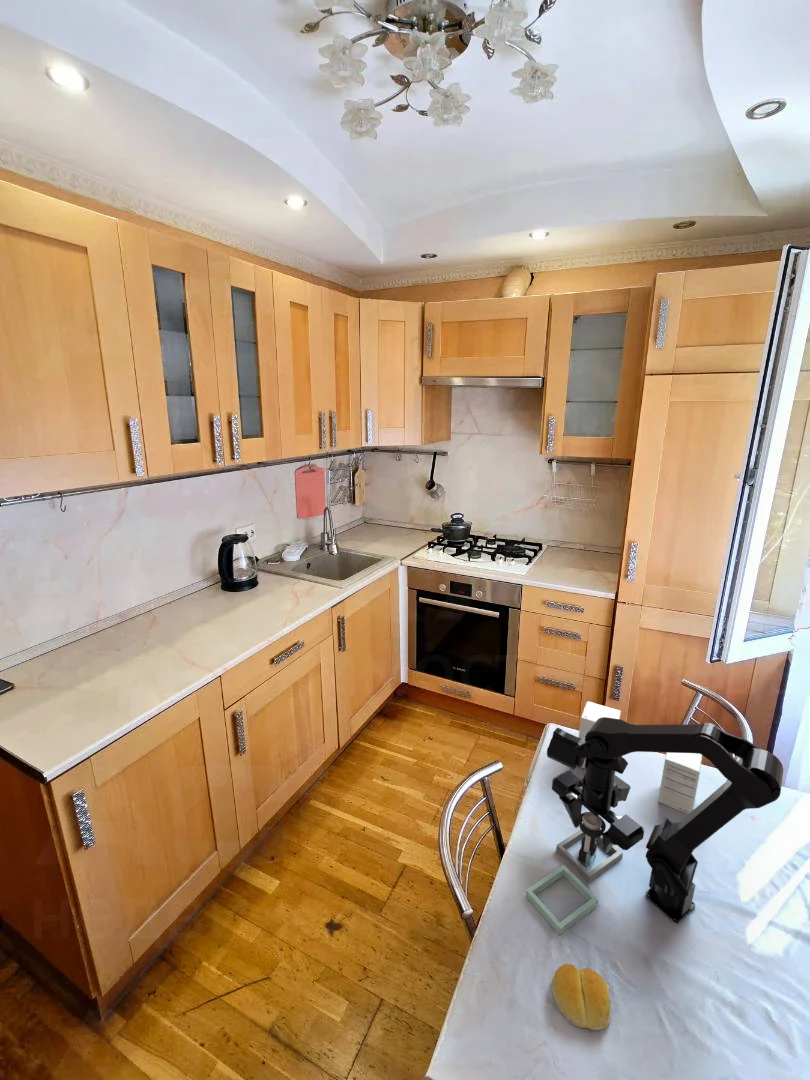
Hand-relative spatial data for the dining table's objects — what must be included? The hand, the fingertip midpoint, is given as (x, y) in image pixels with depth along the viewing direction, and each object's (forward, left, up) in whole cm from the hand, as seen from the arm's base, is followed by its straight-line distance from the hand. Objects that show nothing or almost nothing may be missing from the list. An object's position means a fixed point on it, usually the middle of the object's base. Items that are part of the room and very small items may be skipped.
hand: (590, 839), depth 103 cm
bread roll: (-17, +23, -4) cm, 29 cm away
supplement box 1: (+18, -25, -4) cm, 31 cm away
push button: (0, 0, -4) cm, 4 cm away
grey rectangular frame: (0, 0, -4) cm, 4 cm away
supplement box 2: (-1, -31, -4) cm, 31 cm away
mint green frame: (-4, +13, -4) cm, 14 cm away
